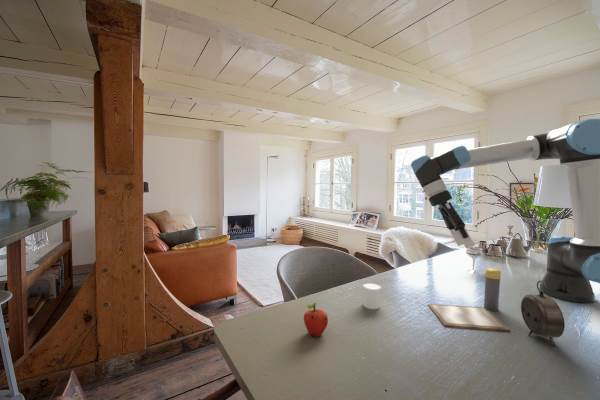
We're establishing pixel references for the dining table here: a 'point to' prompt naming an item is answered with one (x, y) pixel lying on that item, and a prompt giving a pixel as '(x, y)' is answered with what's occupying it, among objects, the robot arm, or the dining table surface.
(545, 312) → the alarm clock
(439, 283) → the dining table surface
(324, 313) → the apple
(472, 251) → the wineglass
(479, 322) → the wooden picture frame
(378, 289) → the white cylinder
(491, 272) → the marker
